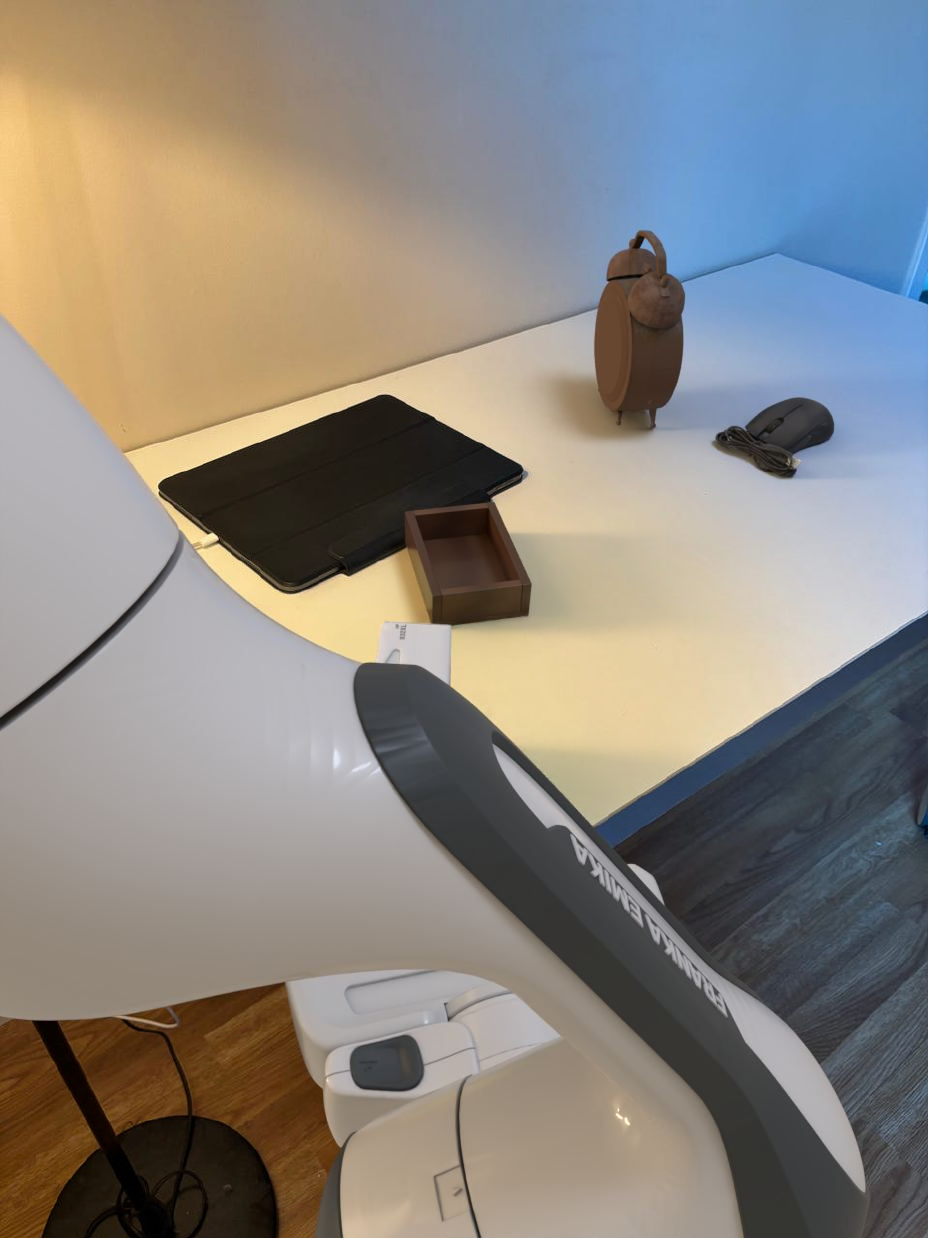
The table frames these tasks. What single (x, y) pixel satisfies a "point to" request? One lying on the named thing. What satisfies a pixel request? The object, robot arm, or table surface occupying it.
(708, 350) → the table surface
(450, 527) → the wooden tray
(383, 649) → the ink box
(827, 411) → the computer mouse
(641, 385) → the alarm clock
